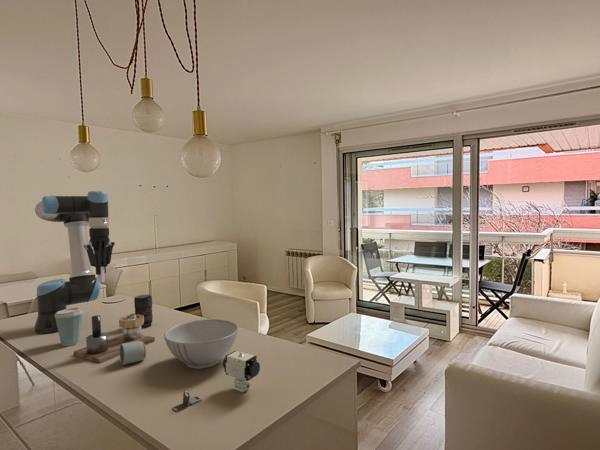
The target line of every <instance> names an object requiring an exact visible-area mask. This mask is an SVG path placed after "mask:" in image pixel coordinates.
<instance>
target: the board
mask: <svg viewBox="0 0 600 450" xmlns="http://www.w3.org/2000/svg"><path fill="white" fill-rule="evenodd" d="M155 340H156V339H155V337H152V336H149V335H145V334H142V337H141V338H140V339H138V340H134V341H124V340H123V333H122V334H119V335H117V336H112V337H111V338H108V350H107V351H106V352H104V353H101V354H96V355H89V354H87V346H85V347H82V348H80V349H76V350H73V356H75V357H80V358H81V359H86V360H89V361H92V362H95V363H99V364H102V363H104V362H106V361H109V360H111V359H113V358H117V357H118V356H119V357H120V345H121V344H124V343H131V342H137V341H142V342H144V344H145V346H146V345H148V344H151V343H153V342H155Z"/></svg>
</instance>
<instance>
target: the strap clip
mask: <svg viewBox="0 0 600 450" xmlns="http://www.w3.org/2000/svg"><path fill="white" fill-rule="evenodd" d="M186 394H187V395H186ZM182 395H183V397H182V403H180V404H178V405H175V406H174V407H171V410H172V411H174V413H179V412H182V411H183V410H186V409H187V408H188V407H189V406H193V405H197V404H199V403H200V402H202V401H203V400H202V398H201V397H200V396H197V395H196V396H192V397H191V393H190V392H188V391H186V390H184V391H183V393H182ZM176 409H177V410H176Z"/></svg>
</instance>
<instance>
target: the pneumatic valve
mask: <svg viewBox="0 0 600 450" xmlns="http://www.w3.org/2000/svg"><path fill="white" fill-rule="evenodd" d="M257 357H258V356H257V355H254V354H250V353H246V352H242V351H238V350H234V351H232V352H230V353H227V354H226V355H225V356H224V357H223V360H222V367H223V369H224V371H223V372H224V373H225V375H226V376H230V377H233V378H235V379H233V382H232V383H233V390H234V391H237V392H240V393H245V391H248V390H249V389H250V388H251V382H250V381H251V380H252V379H254V378H256V377H257V376H258V375H259V373H260V370H261V365H260V363H259V361H258V359H257Z"/></svg>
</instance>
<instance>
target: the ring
mask: <svg viewBox="0 0 600 450" xmlns="http://www.w3.org/2000/svg"><path fill="white" fill-rule="evenodd" d="M131 317H137V319H134V320H126V319H128V318H131ZM118 324H119V328H122V329H123V328H134V327H138V326H141V325H143V324H144V315H139V314H136V313H135V312H134V313H130V314H128V315H125V316H121V317H120V318H119V319H118Z"/></svg>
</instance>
